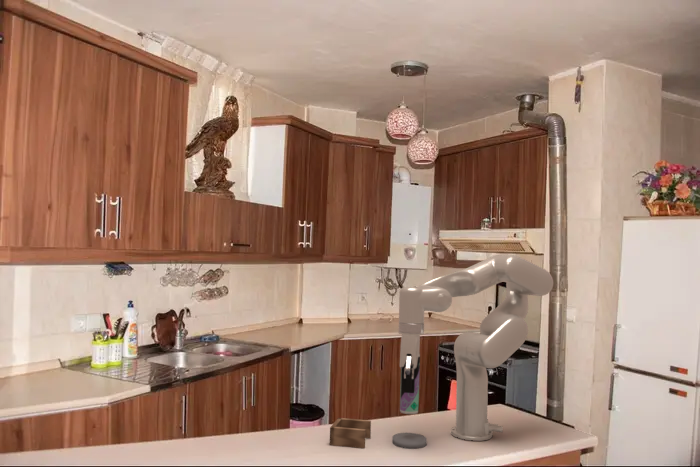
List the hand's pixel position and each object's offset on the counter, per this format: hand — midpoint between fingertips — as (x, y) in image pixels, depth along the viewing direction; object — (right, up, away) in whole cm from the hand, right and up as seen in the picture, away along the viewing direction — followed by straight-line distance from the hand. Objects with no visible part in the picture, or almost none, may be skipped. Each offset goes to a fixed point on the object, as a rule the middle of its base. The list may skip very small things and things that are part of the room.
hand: (409, 389), depth 166 cm
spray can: (0, -7, 0) cm, 7 cm away
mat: (0, -16, -1) cm, 16 cm away
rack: (-17, -15, 0) cm, 23 cm away
